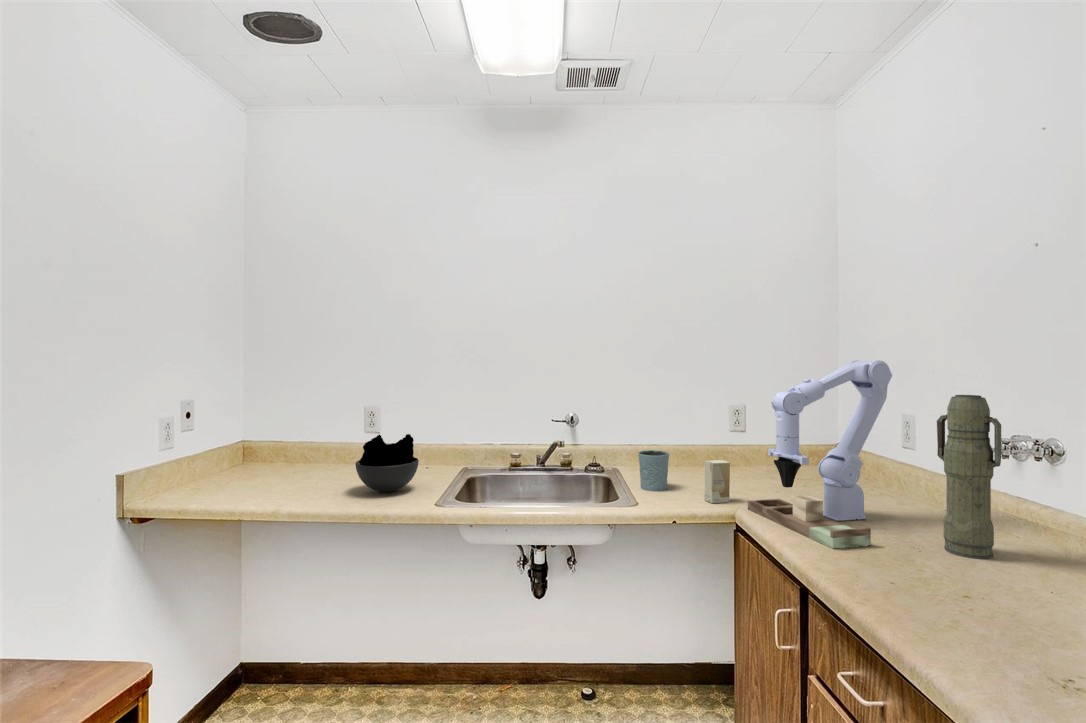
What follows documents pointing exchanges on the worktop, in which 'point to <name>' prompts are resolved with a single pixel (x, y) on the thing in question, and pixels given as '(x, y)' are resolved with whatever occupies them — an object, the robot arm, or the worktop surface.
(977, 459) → the thermos
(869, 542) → the track
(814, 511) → the maple block
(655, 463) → the teal embossed cup
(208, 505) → the worktop surface
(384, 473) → the bowl of black rocks
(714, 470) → the skincare box
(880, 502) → the worktop surface
